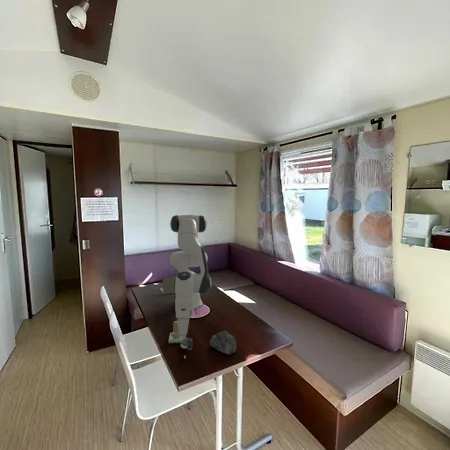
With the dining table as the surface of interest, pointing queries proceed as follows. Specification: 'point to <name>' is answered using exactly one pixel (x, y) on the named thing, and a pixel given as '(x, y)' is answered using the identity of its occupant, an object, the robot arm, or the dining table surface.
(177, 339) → the dish
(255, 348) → the dining table surface
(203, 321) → the dining table surface
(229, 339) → the mineral rock
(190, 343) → the crank
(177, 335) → the stop pin
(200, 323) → the dining table surface
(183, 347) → the crank base
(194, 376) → the dining table surface
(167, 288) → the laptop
